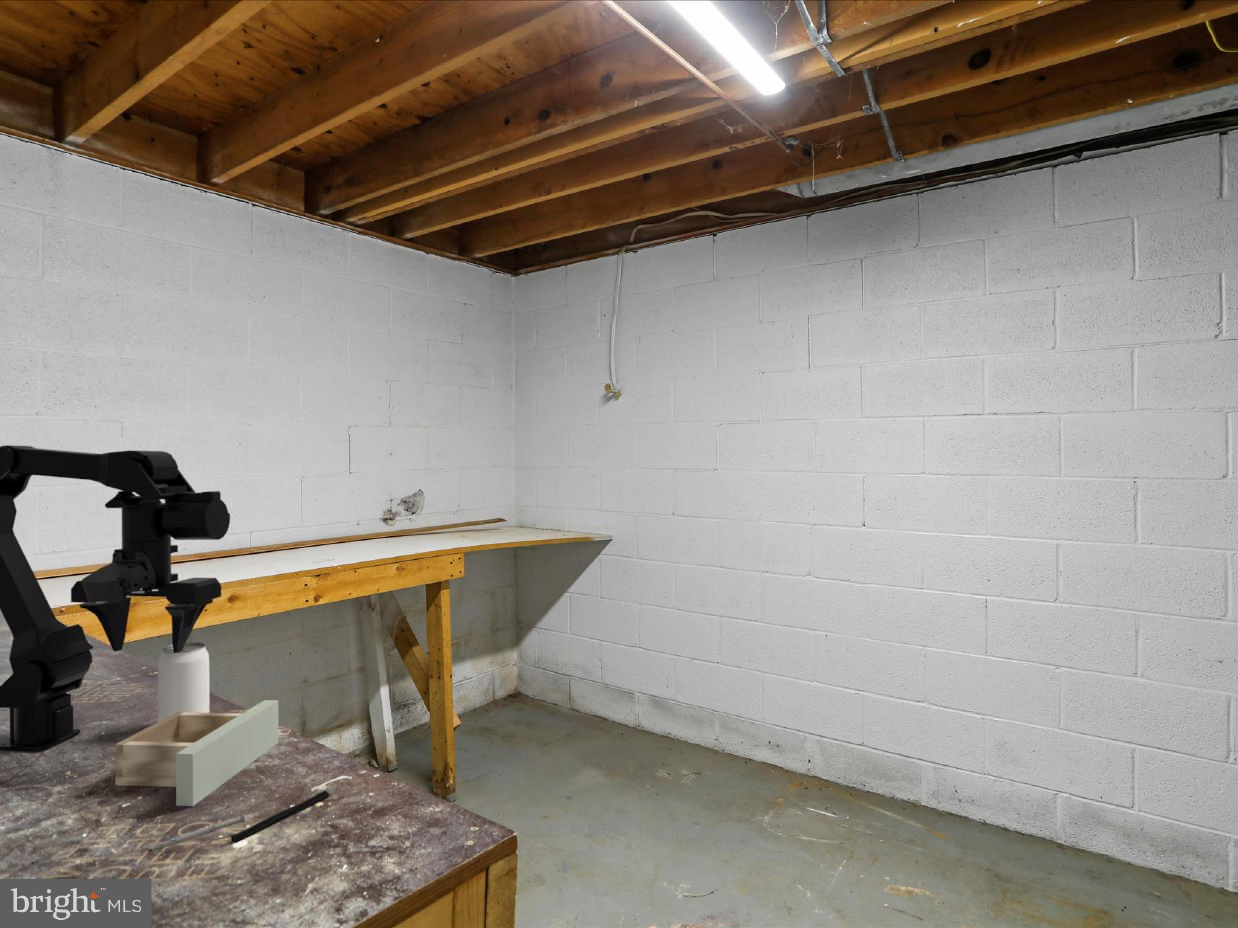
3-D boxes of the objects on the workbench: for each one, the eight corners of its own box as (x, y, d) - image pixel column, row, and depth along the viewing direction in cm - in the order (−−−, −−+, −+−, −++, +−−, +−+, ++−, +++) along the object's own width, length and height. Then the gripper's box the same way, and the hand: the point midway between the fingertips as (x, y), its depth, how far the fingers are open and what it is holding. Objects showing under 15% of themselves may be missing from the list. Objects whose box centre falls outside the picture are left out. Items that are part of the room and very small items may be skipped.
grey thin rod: (245, 824, 77) (245, 815, 77) (152, 855, 71) (152, 845, 71) (242, 820, 77) (242, 811, 77) (150, 851, 71) (150, 841, 71)
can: (185, 737, 100) (184, 653, 100) (147, 733, 101) (146, 651, 101) (219, 720, 107) (219, 642, 106) (183, 717, 108) (183, 640, 108)
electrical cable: (330, 794, 83) (330, 786, 83) (335, 796, 83) (335, 788, 83) (230, 843, 73) (230, 833, 73) (236, 845, 72) (236, 836, 72)
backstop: (176, 805, 80) (176, 753, 80) (264, 742, 98) (264, 699, 98) (193, 805, 80) (192, 753, 80) (278, 742, 98) (278, 700, 98)
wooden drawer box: (115, 785, 85) (115, 744, 85) (177, 748, 96) (177, 712, 96) (201, 787, 85) (201, 746, 85) (254, 749, 96) (254, 713, 96)
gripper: (32, 546, 91) (33, 666, 91) (163, 547, 88) (164, 670, 88) (105, 537, 102) (105, 644, 102) (223, 538, 100) (224, 647, 100)
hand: (147, 651), depth 98 cm, fingers open, 9 cm apart
